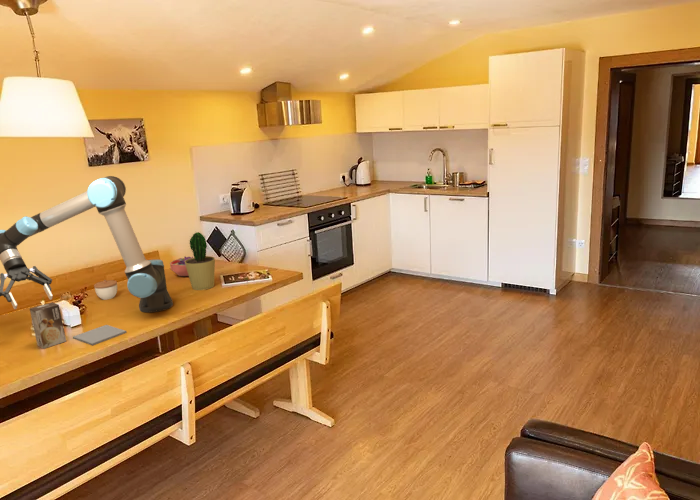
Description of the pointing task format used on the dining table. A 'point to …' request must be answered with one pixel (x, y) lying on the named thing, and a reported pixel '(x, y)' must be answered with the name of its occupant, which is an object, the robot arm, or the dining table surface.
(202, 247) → the potted cactus
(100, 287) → the lidded jar
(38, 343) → the coffee box
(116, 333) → the mat
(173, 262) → the cell model
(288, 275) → the dining table surface
